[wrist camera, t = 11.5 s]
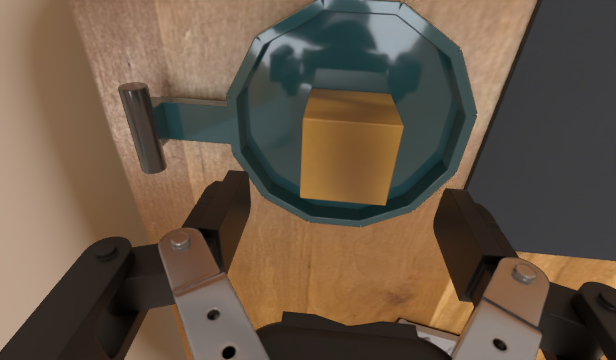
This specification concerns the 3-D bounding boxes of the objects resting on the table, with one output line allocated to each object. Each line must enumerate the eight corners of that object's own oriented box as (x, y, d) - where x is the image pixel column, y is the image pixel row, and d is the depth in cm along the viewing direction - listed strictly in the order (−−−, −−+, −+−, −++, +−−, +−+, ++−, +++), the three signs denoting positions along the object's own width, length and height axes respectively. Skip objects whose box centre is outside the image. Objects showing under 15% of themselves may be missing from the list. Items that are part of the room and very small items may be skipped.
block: (307, 156, 21) (299, 198, 17) (311, 87, 18) (302, 117, 14) (377, 162, 20) (385, 206, 16) (391, 93, 18) (404, 125, 14)
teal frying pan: (180, 194, 24) (154, 228, 21) (131, -17, 16) (79, -15, 13) (428, 217, 23) (442, 257, 20) (500, 4, 15) (542, 11, 12)
